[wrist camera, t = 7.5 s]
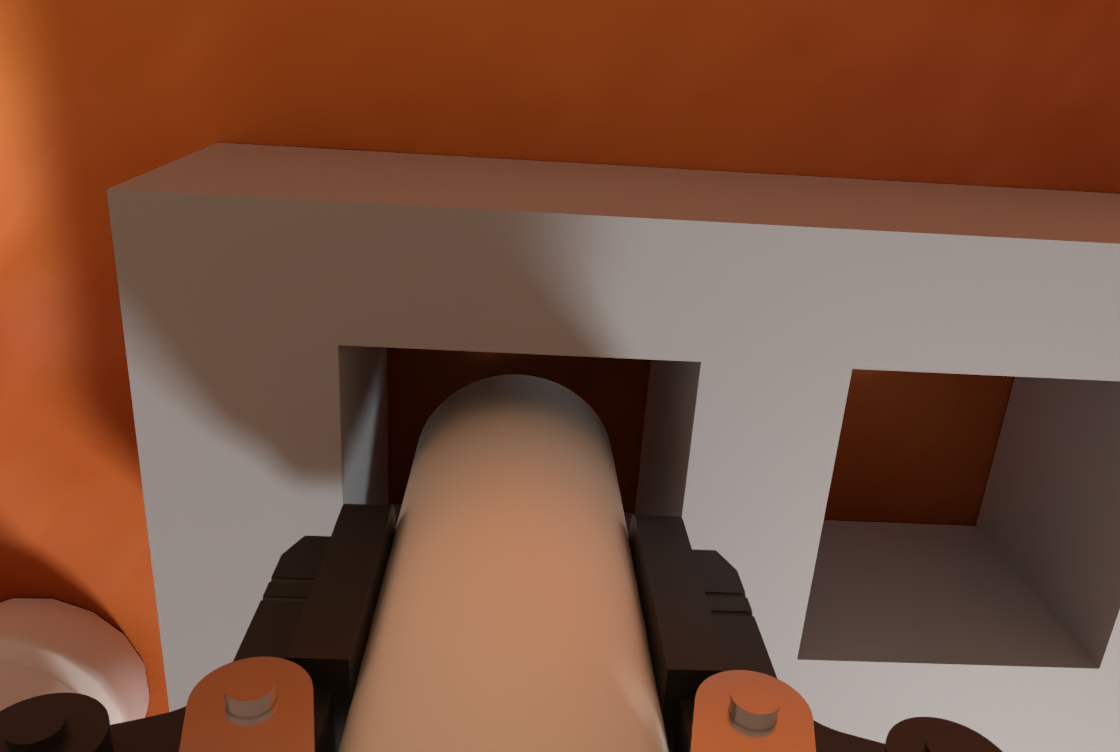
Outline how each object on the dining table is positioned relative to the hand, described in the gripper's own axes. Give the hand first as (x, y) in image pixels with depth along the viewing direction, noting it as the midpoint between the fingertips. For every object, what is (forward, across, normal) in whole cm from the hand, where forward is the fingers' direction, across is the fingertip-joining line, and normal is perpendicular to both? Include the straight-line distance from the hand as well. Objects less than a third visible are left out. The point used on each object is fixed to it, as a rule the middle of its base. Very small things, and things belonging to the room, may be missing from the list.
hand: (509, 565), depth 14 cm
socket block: (+6, -4, 0) cm, 8 cm away
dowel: (+3, 0, 0) cm, 3 cm away
